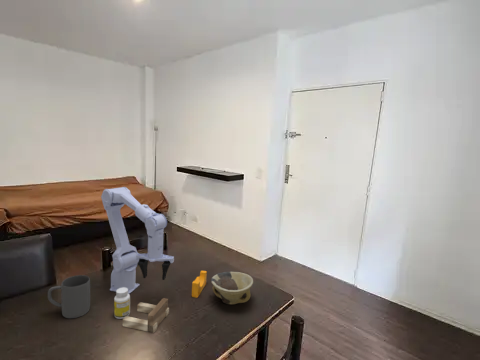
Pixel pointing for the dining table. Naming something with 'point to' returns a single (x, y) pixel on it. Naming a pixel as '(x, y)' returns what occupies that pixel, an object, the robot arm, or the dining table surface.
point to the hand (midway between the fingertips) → (154, 277)
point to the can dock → (154, 316)
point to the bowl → (232, 286)
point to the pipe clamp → (199, 284)
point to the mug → (73, 296)
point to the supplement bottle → (121, 303)
